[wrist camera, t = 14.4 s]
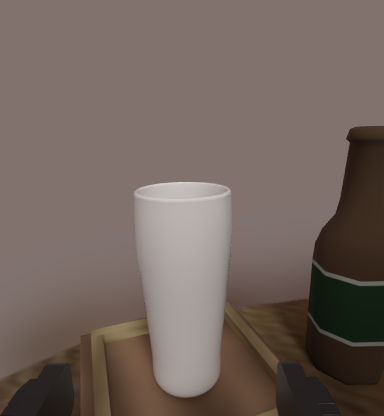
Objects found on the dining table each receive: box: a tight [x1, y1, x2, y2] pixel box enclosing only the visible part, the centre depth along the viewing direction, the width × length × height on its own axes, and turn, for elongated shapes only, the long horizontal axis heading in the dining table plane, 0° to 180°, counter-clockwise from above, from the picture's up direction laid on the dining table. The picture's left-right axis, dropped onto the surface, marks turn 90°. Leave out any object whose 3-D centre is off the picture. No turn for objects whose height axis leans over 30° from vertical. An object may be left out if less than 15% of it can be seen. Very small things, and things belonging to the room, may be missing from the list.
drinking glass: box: [134, 182, 232, 398], centre depth 22 cm, size 7×7×15 cm
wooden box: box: [80, 301, 283, 416], centre depth 25 cm, size 16×16×6 cm
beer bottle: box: [306, 126, 384, 385], centre depth 29 cm, size 8×8×24 cm
